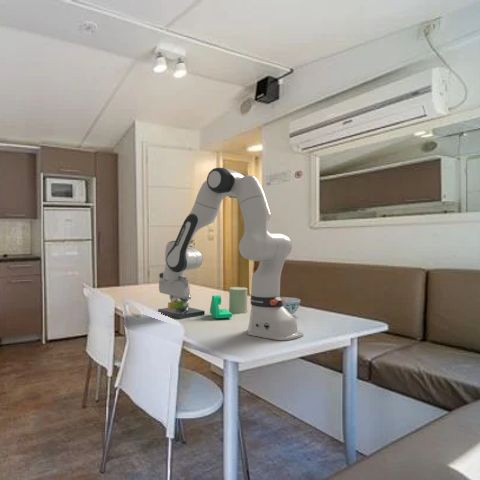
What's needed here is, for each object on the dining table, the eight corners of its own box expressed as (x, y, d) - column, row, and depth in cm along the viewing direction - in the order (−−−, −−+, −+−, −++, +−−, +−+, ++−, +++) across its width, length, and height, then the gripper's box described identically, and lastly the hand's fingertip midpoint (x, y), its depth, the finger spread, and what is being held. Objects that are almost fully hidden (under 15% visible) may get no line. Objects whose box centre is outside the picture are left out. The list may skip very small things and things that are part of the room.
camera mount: (232, 319, 186) (232, 296, 186) (216, 320, 183) (216, 297, 183) (225, 314, 197) (225, 293, 197) (209, 315, 195) (210, 293, 195)
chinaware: (276, 311, 204) (276, 296, 204) (305, 315, 197) (305, 298, 197) (262, 316, 192) (262, 300, 191) (292, 320, 184) (292, 303, 184)
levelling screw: (186, 308, 198) (186, 294, 198) (193, 310, 194) (193, 295, 194) (165, 311, 190) (165, 296, 190) (172, 313, 186) (172, 298, 186)
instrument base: (204, 315, 194) (204, 298, 194) (180, 319, 185) (180, 301, 185) (182, 309, 207) (182, 294, 207) (158, 313, 198) (158, 297, 198)
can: (250, 310, 206) (250, 286, 206) (242, 314, 198) (243, 289, 198) (233, 309, 210) (234, 285, 210) (225, 312, 202) (225, 287, 201)
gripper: (193, 277, 186) (192, 307, 186) (168, 273, 201) (167, 301, 201) (181, 278, 182) (181, 309, 182) (156, 273, 197) (156, 302, 197)
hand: (173, 305), depth 192 cm, fingers closed
